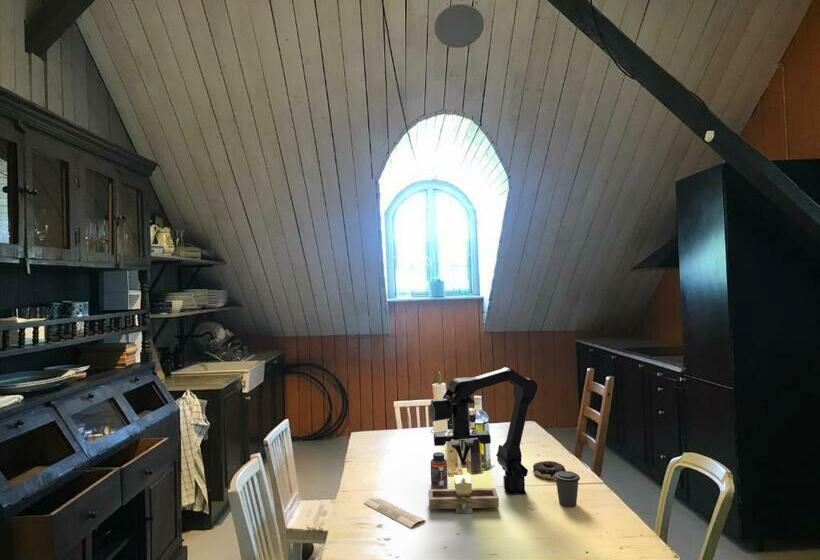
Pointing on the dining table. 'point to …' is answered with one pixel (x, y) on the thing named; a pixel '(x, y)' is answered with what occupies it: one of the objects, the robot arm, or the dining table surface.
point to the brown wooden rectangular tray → (463, 499)
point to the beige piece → (393, 511)
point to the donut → (547, 469)
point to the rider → (463, 485)
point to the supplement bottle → (438, 470)
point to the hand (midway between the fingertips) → (462, 463)
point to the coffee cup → (567, 488)
